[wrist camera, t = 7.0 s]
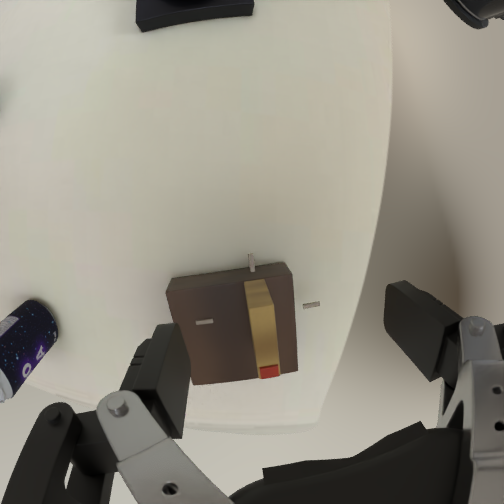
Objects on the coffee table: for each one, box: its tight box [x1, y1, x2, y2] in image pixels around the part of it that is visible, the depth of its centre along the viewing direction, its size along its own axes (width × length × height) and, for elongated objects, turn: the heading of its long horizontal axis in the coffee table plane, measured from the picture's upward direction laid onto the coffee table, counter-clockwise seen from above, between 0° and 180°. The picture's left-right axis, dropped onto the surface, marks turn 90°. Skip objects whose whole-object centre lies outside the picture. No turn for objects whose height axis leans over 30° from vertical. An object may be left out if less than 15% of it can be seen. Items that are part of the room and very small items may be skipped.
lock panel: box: [166, 253, 320, 385], centre depth 24 cm, size 12×12×3 cm
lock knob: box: [244, 279, 281, 379], centre depth 20 cm, size 6×2×5 cm, turn 7°
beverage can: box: [0, 300, 58, 403], centre depth 18 cm, size 6×6×12 cm
